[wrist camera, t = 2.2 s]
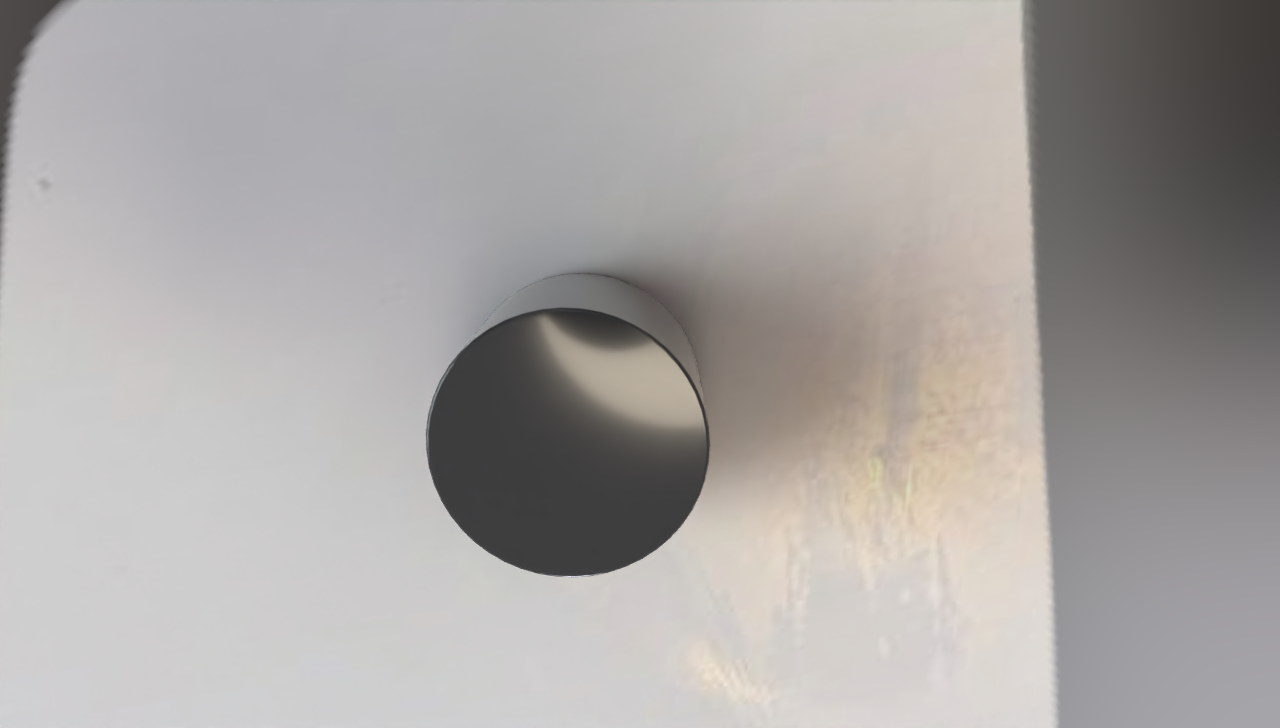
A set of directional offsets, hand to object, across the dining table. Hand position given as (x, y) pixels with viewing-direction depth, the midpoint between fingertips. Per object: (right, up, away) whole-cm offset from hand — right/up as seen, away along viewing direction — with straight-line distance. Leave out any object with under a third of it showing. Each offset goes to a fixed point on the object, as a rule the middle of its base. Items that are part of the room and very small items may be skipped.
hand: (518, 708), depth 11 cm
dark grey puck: (0, +3, +11) cm, 11 cm away
